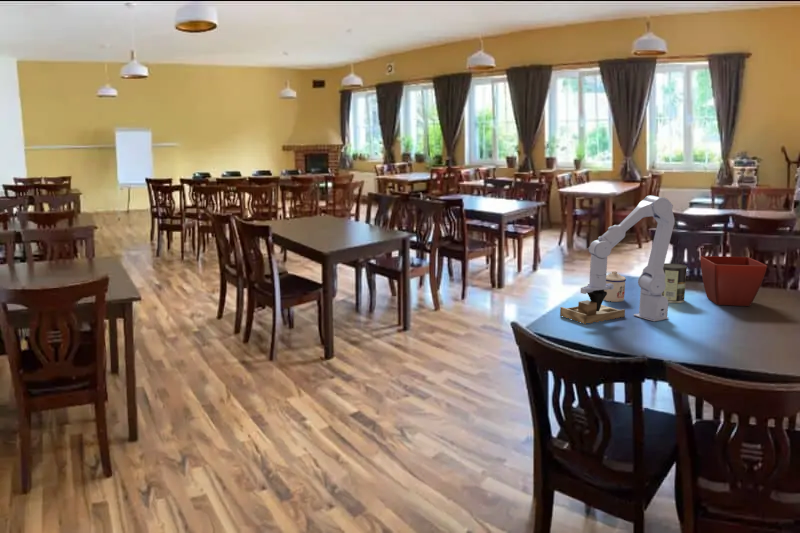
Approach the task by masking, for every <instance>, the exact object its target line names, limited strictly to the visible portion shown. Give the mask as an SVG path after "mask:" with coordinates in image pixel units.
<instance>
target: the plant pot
mask: <svg viewBox="0 0 800 533" xmlns="http://www.w3.org/2000/svg"><path fill="white" fill-rule="evenodd" d="M699 258H700V270H701V276H702V282H703V288H704V291H705V295H706V298H707V299H708V300H710V301H712V302H713V303H714V304H716V305H717V306H718V305H719V306H740V307H741V306H742V307H745V306H746V307H750V306H752V303H753V302H754V301H755V298H756V296H757V295H758V292H759V291H760V288H761V285H762V283H763V280H764V278H765V276H766V272H767V268H768V265H767V264H765V263H763V262H760V261H758V260H756V259H754V258H751V257H748V256H722V255H720V256H719V255H718V256H716V255H715V256H713V255H700V256H699Z"/></svg>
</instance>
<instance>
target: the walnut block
mask: <svg viewBox="0 0 800 533" xmlns="http://www.w3.org/2000/svg"><path fill="white" fill-rule="evenodd" d="M577 304H578V305H577V306H578V312H580V313H583V314H586V315H587V316H591V315H596V309H597V303H596V302H592V301H591V300H590V299H589V300H588V299H587V300H581V301H578V303H577Z"/></svg>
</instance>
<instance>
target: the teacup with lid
mask: <svg viewBox="0 0 800 533" xmlns="http://www.w3.org/2000/svg"><path fill="white" fill-rule="evenodd" d="M626 281H627V279H626V277H625V276H623V275H621V274H619V273H618V271H617V270H612V271H611V273H609V274H606V283H611V284H614V289H608V290H604V291H605V292H607V295H606V296H605V298H604V300H603V301H605V300H606V301H605V302H610V301H611V302H612V303H619V302H620V303H621V302H624V301H625V293H626ZM611 302H610V303H611Z"/></svg>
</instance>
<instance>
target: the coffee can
mask: <svg viewBox="0 0 800 533" xmlns="http://www.w3.org/2000/svg"><path fill="white" fill-rule="evenodd" d="M687 269H688V266H687V265H685V264H680V263H671V262H670V263H664V267H663V270H664V273H665V284H666V287H665V290H664V291H663V292H662V296H664V297H666V298H667V299H668V304H680V303H681V304H682V303H684V302H685V296H686V295H685V294H686V282H687V271H688V270H687Z"/></svg>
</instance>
